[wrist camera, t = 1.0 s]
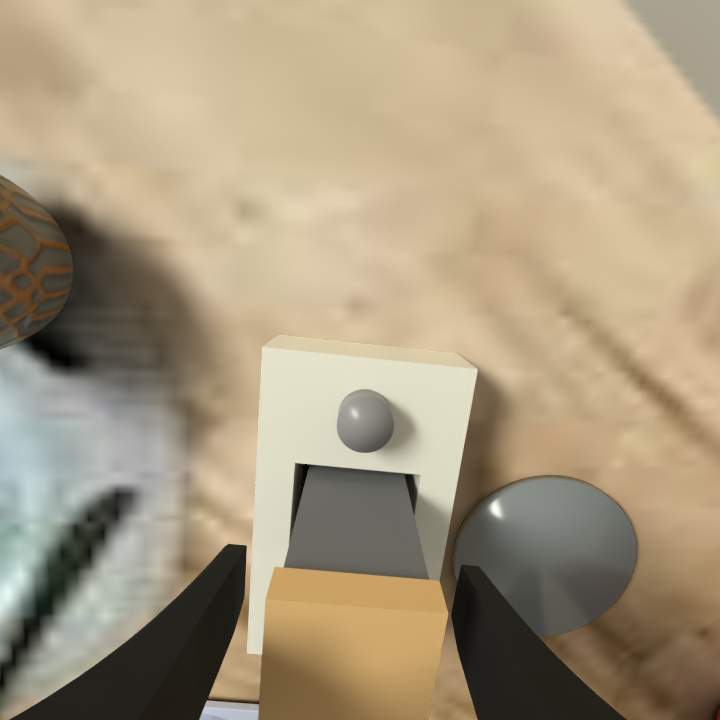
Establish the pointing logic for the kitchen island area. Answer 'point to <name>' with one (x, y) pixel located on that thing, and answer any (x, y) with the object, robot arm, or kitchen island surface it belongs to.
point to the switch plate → (355, 438)
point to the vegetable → (719, 716)
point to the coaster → (550, 550)
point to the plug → (352, 606)
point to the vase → (30, 265)
